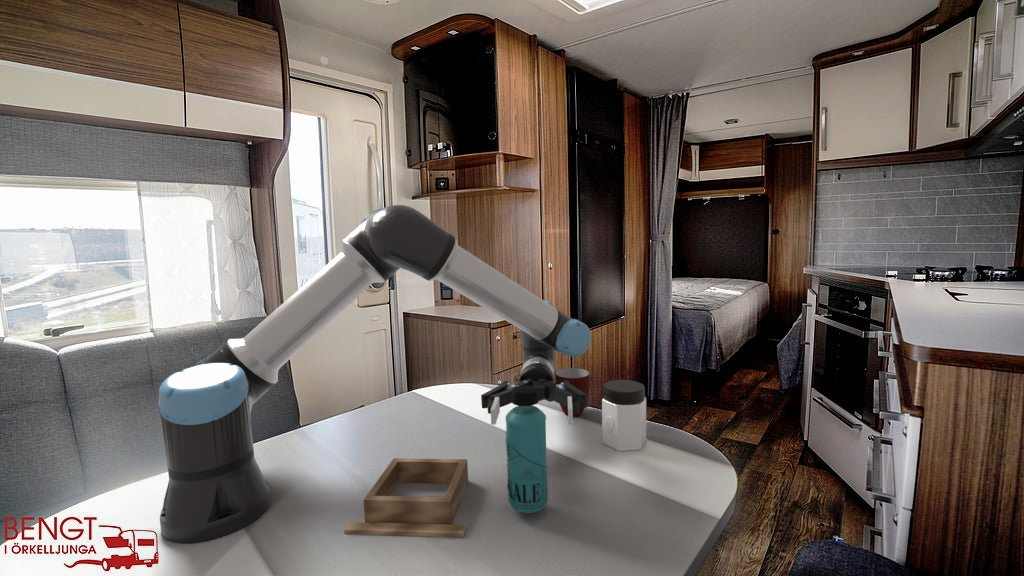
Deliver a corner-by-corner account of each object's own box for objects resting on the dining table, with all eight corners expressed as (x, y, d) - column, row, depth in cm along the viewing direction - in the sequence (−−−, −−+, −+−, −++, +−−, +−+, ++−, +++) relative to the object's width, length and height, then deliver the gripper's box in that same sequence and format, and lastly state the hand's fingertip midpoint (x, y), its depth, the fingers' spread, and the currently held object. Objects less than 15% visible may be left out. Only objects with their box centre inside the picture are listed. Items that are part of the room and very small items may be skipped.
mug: (592, 424, 108) (591, 381, 106) (556, 424, 108) (555, 381, 107) (589, 407, 118) (588, 368, 117) (556, 407, 119) (555, 368, 118)
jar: (594, 439, 100) (593, 384, 99) (623, 430, 104) (622, 376, 103) (625, 456, 92) (624, 395, 91) (655, 445, 97) (655, 387, 95)
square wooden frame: (344, 533, 71) (342, 508, 71) (382, 479, 87) (381, 458, 86) (463, 537, 70) (462, 511, 69) (481, 481, 85) (480, 459, 85)
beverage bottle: (538, 495, 80) (535, 378, 77) (556, 517, 74) (553, 391, 71) (501, 504, 77) (497, 384, 75) (517, 528, 71) (512, 397, 69)
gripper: (595, 395, 104) (604, 437, 83) (481, 396, 107) (462, 437, 86) (594, 361, 103) (603, 395, 82) (479, 363, 106) (460, 397, 85)
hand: (531, 417), depth 84 cm, fingers open, 13 cm apart
